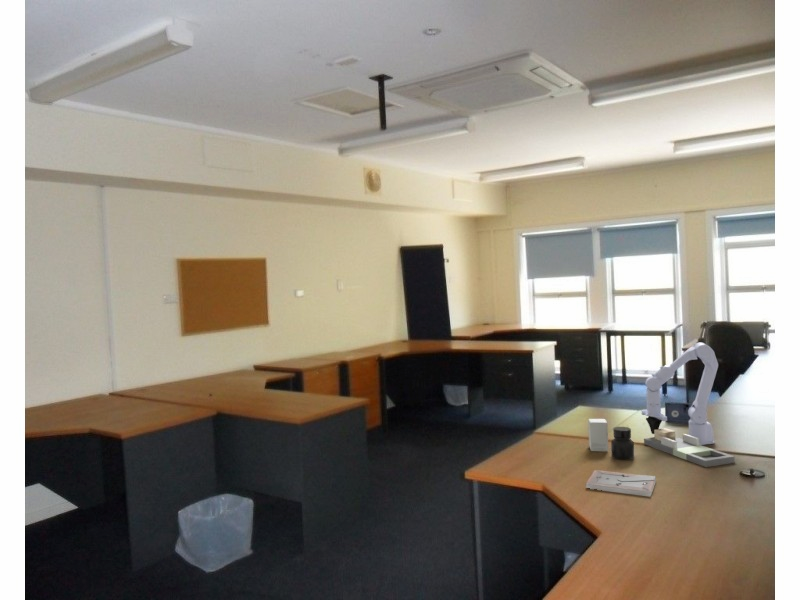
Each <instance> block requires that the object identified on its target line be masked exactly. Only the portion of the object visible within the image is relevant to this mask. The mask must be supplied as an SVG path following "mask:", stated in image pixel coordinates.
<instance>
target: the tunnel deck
mask: <svg viewBox="0 0 800 600" xmlns="http://www.w3.org/2000/svg"><path fill="white" fill-rule="evenodd" d="M675 437H676V440H675V441H674V440H671V439H668V438H665V437H661V441H660V440H657V439H655V436H654V437H653V436H651V437H644V438H643V445H646V446H649V447H650V448H654V449H656V450H659V451H662V452H664V453H667V454H670V455H672V456H675V457H677V458H680V459H683V460H686V461H687V462H691V463H693V464H696V465H698V466H702V467H704V468H709V467H715V466H721V465H727V464H734V463H735V456H734V455H732V454H729V453H725V452H723V451H720V450H717V449H714V448H710V447H708V446H705V445H699V438H696V437H693V436H690V435H689V434H686V433H682V437H681V438H680V437H677V436H675Z"/></svg>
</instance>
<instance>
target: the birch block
mask: <svg viewBox="0 0 800 600" xmlns="http://www.w3.org/2000/svg"><path fill="white" fill-rule="evenodd" d="M653 435H654V437H655V439H657V440H660V441H661V437H665V438H668V439H671V440H674V441H675V440H676V437H677V436H676V430H673V429H670V428H667V427H666V428H659V429H656V430H654V434H653Z"/></svg>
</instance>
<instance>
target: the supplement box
mask: <svg viewBox="0 0 800 600" xmlns="http://www.w3.org/2000/svg"><path fill="white" fill-rule="evenodd" d="M587 419H588V420H587V421H588V423H587V425H588V426H587V427H588V447H589V450H590V451H591V452H608V451H609V437H608V436H609V434H608V430H609V429H608V422H607V420H606V419H605V418H587Z"/></svg>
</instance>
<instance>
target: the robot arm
mask: <svg viewBox="0 0 800 600" xmlns="http://www.w3.org/2000/svg"><path fill="white" fill-rule="evenodd" d="M698 358H699V359H700V361H701V363H703V364H704V369H703V371H702V375H701V379H700V382H699V385H698V388H697V392H696V396H695V399H694V401H692V403H691V404H692V406H691V407H690V408H689V410H688V415H689V416H690V417H691V418H690V420H689V424H688V435H690V436H693V437H696V438H699V445H702V446H705V445H711V444H715V443H716V442H715V441H714V427H713V425H712V423H710V422H709V421H708V413H707V412H708V402H709V399H710V396H711V392H712V389H713V386H714V381H715V379H716V375H717V371H718V370H719V369H718V368H719V362H718V360H717V357H716V354H715V351H714V350H713V348H712V347H711V346H709V345H708V344H706V343H704V342H702V341H701V342H696V343H695V344H694V345H692V346H690V347H689V348H688V349H686V350H685V351H684V352H682V354H680V356H678V357H677V358H676V359H674V361H672V362H671V363H670V364H669V365H667V364H666V365H664V366H663V365H661V366H660V367H659V370H657V371H656V372H655V373H652V374H651V376H649V377H647V378H646V379H645V383H644V384H645V386H646V395H645V396H646V409H643V410H641V415H642V416H646V417H645V421H646V422H647V425H648V426H649V428H650V433H651V434H652V435H654V430H656V429H660V426H661V424H662V422H666V421H667V416H665V414H662V410H661V409H662V408H661V407H662V406H661V388H662V385H664V384H665V383H666V382H667V381H669V380H670V379H671V378H673V377H674V376H675V374H676V373H675V372H676V371H677V370H678V369H680V368H681V367H682V366H683V365H685V364H686V363H688V362H689V361H692V360H693V361H694V360H698Z"/></svg>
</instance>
